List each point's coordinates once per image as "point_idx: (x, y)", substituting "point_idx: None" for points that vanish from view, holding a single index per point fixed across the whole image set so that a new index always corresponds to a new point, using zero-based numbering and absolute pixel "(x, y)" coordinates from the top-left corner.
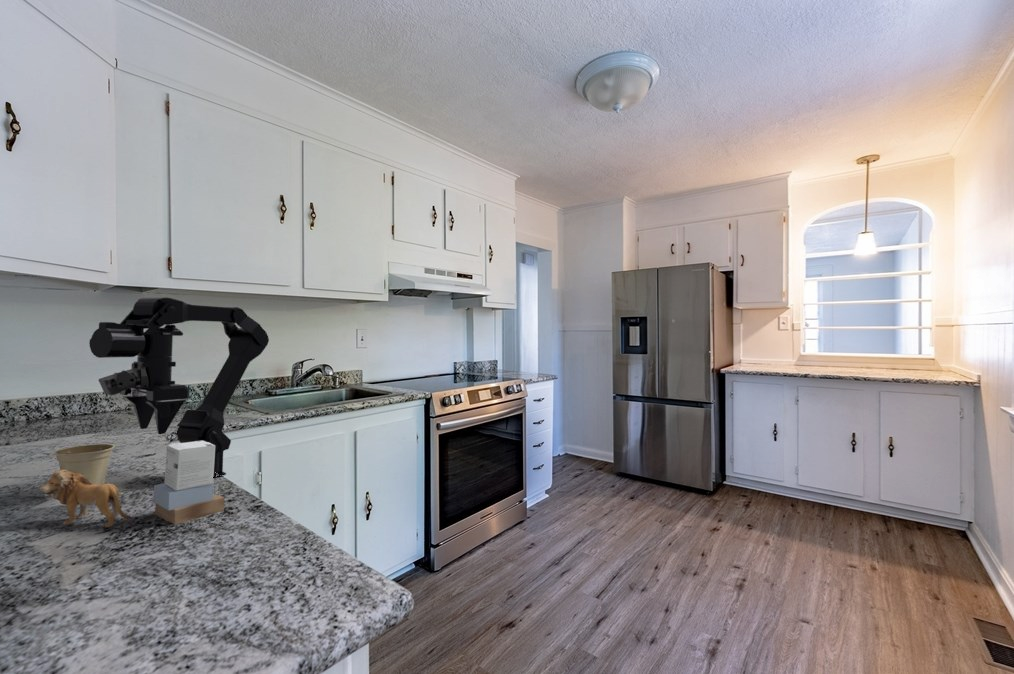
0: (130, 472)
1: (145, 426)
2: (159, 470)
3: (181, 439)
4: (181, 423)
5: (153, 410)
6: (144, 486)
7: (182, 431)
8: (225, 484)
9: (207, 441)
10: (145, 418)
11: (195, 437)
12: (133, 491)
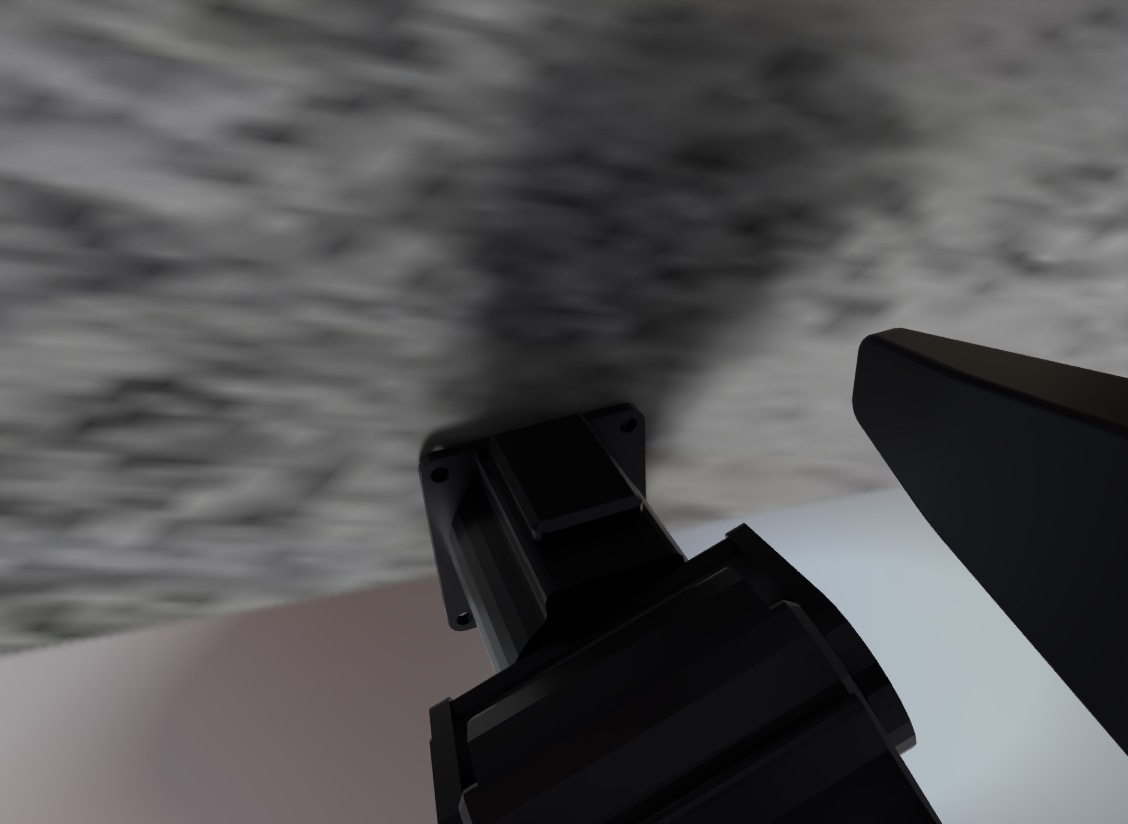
0: (1078, 117)
1: (874, 410)
2: (954, 286)
3: (695, 607)
4: (835, 757)
5: (1107, 721)
6: (594, 133)
7: (729, 689)
8: (186, 609)
9: (439, 794)
10: (999, 499)
11: (509, 754)
12: (498, 30)
